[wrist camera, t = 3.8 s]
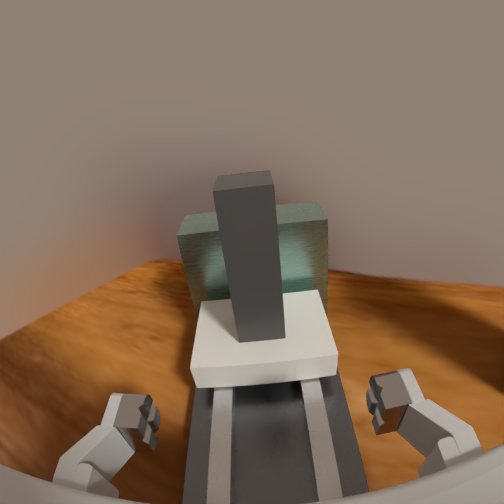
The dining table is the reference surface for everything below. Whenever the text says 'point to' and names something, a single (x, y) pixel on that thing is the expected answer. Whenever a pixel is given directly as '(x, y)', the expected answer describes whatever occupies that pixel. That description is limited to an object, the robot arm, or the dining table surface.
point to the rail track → (268, 390)
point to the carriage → (257, 300)
